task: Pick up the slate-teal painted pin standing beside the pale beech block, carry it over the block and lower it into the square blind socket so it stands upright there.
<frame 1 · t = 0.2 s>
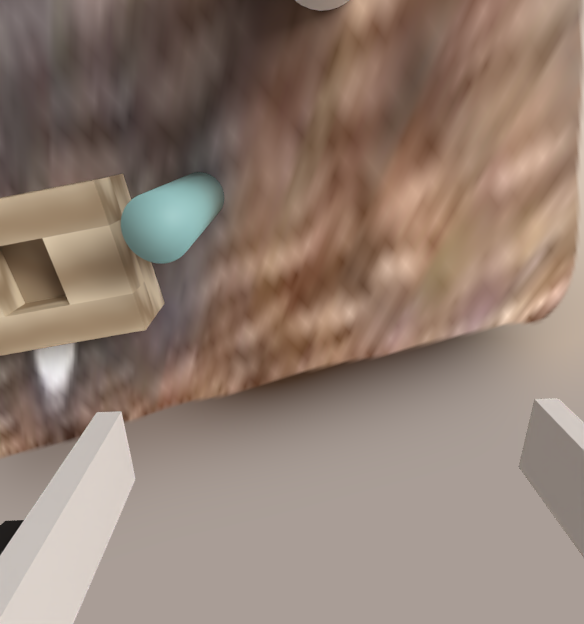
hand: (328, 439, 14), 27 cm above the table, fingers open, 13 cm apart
block: (60, 258, 38), on the table
pin: (201, 196, 37), on the table
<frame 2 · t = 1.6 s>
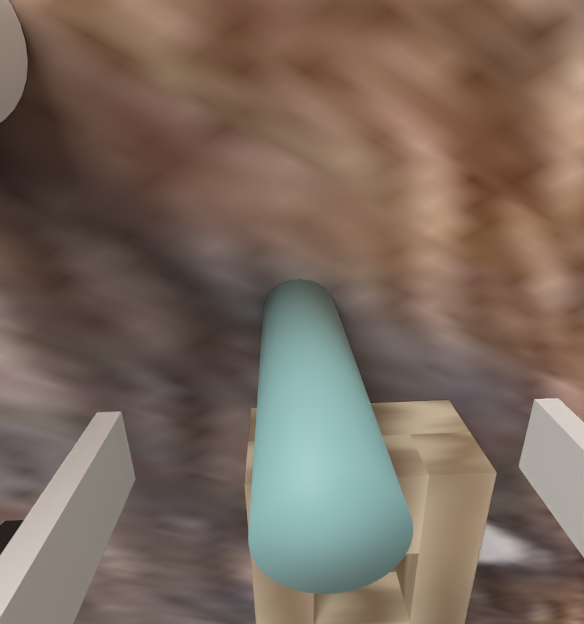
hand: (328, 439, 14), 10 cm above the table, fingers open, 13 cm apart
block: (346, 503, 29), on the table
pin: (299, 314, 23), on the table
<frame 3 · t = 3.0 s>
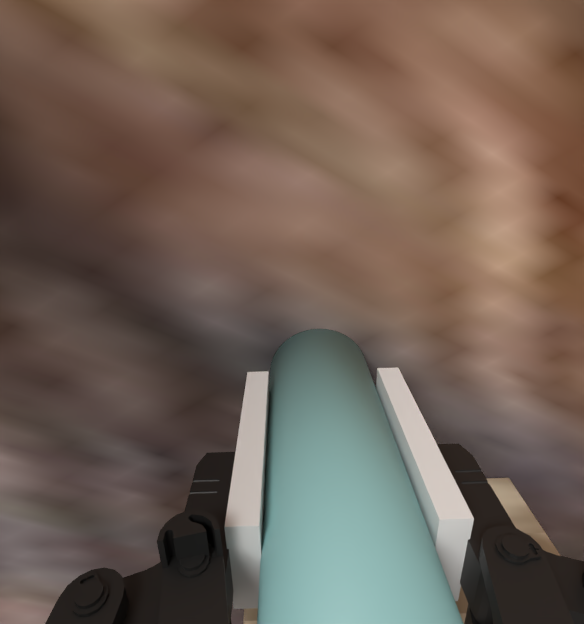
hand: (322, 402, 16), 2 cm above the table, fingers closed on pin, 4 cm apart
block: (373, 595, 23), on the table
pin: (318, 372, 18), on the table, touching gripper
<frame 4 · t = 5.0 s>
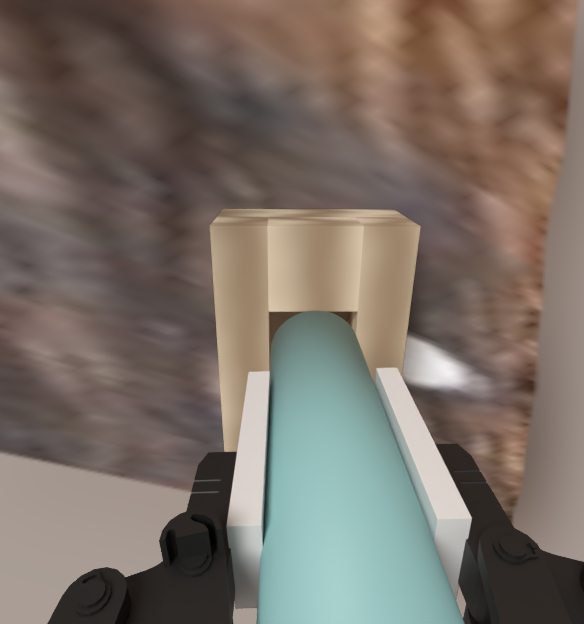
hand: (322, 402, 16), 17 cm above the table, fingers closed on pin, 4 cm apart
block: (306, 314, 33), on the table
pin: (314, 351, 19), point 13 cm above the table, touching gripper
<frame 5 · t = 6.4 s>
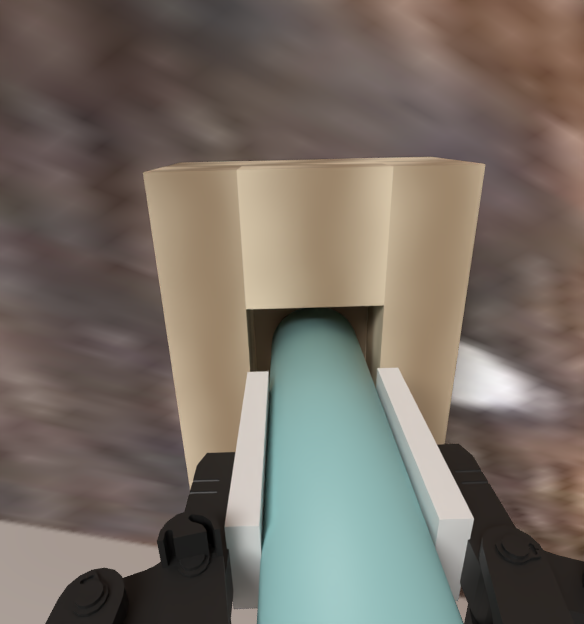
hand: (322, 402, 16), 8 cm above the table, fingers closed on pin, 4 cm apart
block: (307, 313, 23), on the table
pin: (314, 345, 20), point 4 cm above the table, touching gripper
when the fingers open (7 cm above the table, at t = 7.0 s): pin stays where it is, resting on block.
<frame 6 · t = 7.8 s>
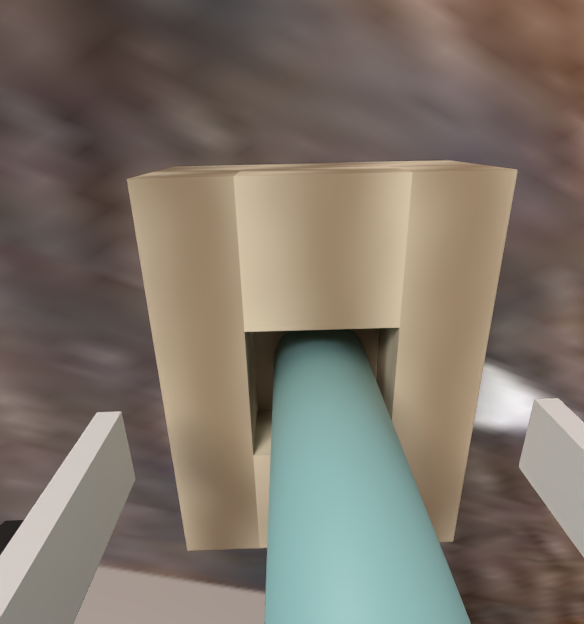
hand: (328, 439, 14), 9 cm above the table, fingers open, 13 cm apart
block: (311, 329, 22), on the table
pin: (319, 359, 19), point 3 cm above the table, touching block
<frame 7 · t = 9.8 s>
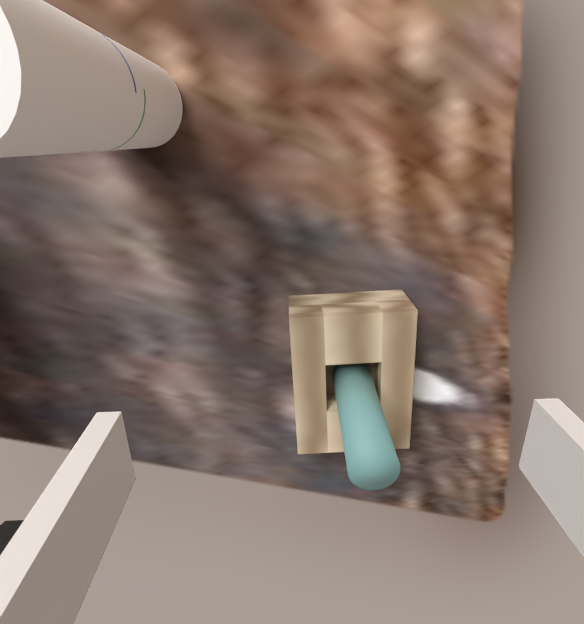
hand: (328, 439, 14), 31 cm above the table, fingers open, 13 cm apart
block: (345, 358, 48), on the table
pin: (350, 373, 45), point 3 cm above the table, touching block
cylindrical container: (143, 105, 38), on the table
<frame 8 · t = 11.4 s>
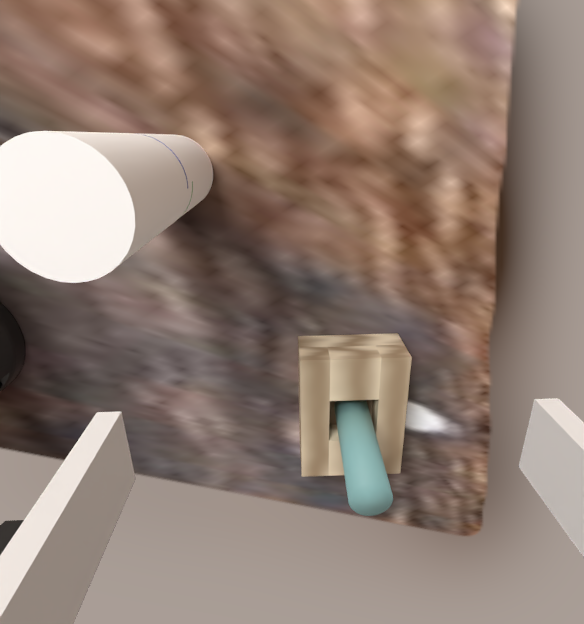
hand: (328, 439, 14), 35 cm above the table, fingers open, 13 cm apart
block: (346, 391, 54), on the table
pin: (350, 406, 51), point 3 cm above the table, touching block
cylindrical container: (178, 172, 44), on the table
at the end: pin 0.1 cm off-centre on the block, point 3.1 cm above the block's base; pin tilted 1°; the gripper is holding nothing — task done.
